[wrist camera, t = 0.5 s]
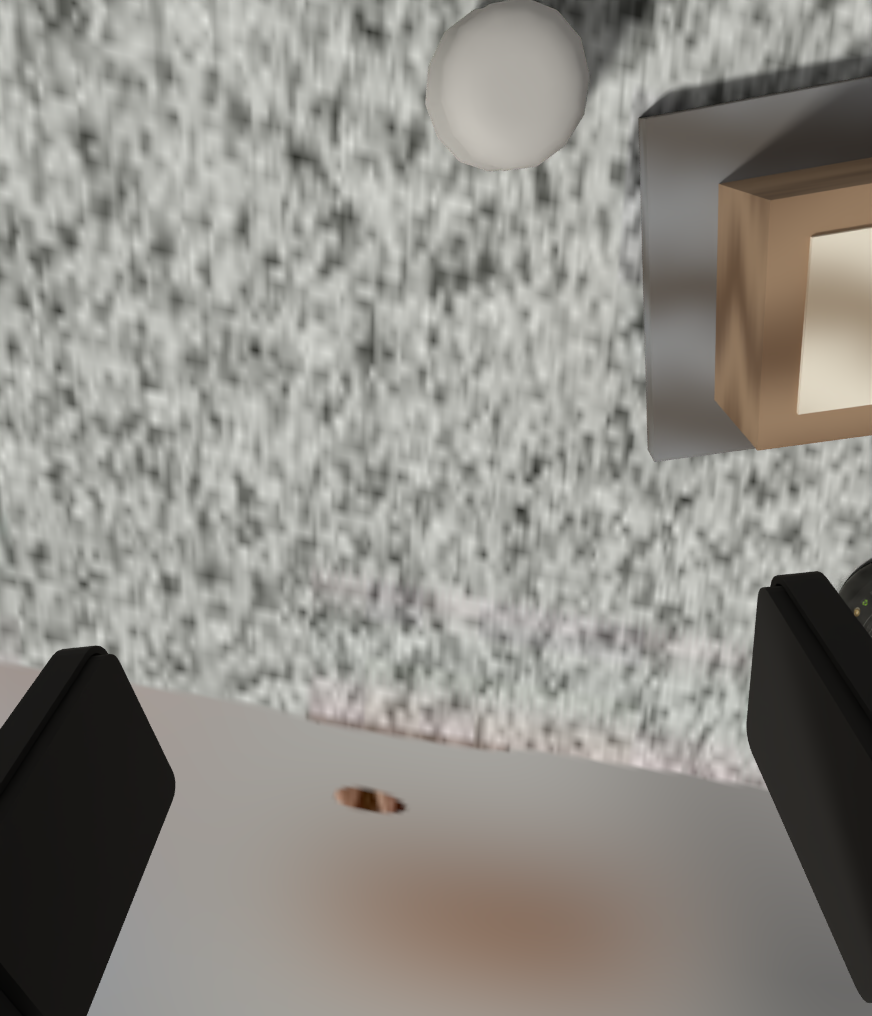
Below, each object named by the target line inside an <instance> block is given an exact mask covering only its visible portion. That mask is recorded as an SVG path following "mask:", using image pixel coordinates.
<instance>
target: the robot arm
mask: <svg viewBox="0 0 872 1016" xmlns="http://www.w3.org/2000/svg"><path fill="white" fill-rule="evenodd" d="M747 737H748V742H749V745H750V749H751V751H752V754H753V756H754V758H755V761H756V763H757V765H758V767H759V770H760V772H761V774H762V776H763V779H764V781H765V783H766V785H767V788H768V790H769V792H770V795H771V797H772V799H773V801H774V803H775V806H776V808H777V810H778V813H779V815H780V817H781V819H782V822H783V824H784V826H785V828H786V831H787V833H788V835H789V837H790V840H791V842H792V844H793V847H794V849H795V851H796V853H797V855H798V858H799V860H800V862H801V864H802V867H803V869H804V871H805V874H806V876H807V878H808V880H809V883H810V885H811V887H812V889H813V892H814V894H815V896H816V898H817V901H818V903H819V905H820V908H821V910H822V912H823V914H824V916H825V919H826V921H827V923H828V926H829V928H830V930H831V932H832V935H833V937H834V939H835V941H836V944H837V946H838V948H839V951H840V953H841V955H842V957H843V960H844V961H845V964H846V966H847V969H848V971H849V973H850V975H851V978H852V979H853V982H854V984H855V986H856V988H857V990H858V992H859V994H860V995H861V997H862V998H863V999H864V1000H865V1001H866V1002H867V1003H872V638H871V636H870V635H869V634H868V632H867V631H866V630H865V628H864V627H863V626H862V624H861V623H860V622H859V620H858V619H857V618H856V616H855V615H854V614H853V612H852V611H851V610H850V608H849V607H848V606H847V604H846V603H845V602H844V600H843V599H842V598H841V596H840V595H839V594H838V592H837V591H836V590H835V588H834V587H833V586H832V584H831V583H830V582H829V580H828V579H827V578H826V577H825V576H824V575H823V574H822V573H821V572H818V571H815V572H806V573H796V574H786V575H777V576H775V577H774V578H773V579H772V581H771V586H770V587H763V588H761V589H760V590H759V593H758V601H757V612H756V623H755V635H754V646H753V657H752V668H751V679H750V691H749V702H748V713H747ZM174 793H175V777H174V774H173V771H172V769H171V767H170V765H169V763H168V761H167V759H166V757H165V755H164V753H163V751H162V748H161V746H160V745H159V742H158V740H157V738H156V736H155V734H154V732H153V730H152V728H151V726H150V724H149V722H148V719H147V717H146V715H145V714H144V711H143V709H142V707H141V705H140V703H139V701H138V699H137V697H136V695H135V693H134V691H133V688H132V686H131V684H130V682H129V680H128V678H127V676H126V674H125V672H124V670H123V668H122V666H121V664H120V662H119V660H118V658H117V657H116V656H115V655H113V654H108V653H107V651H106V650H105V649H104V648H102V647H101V646H88V647H79V648H69V649H62V650H59V651H57V652H56V653H55V654H54V655H53V656H52V657H51V659H50V660H49V661H48V663H47V664H46V666H45V667H44V668H43V670H42V671H41V673H40V674H39V676H38V677H37V678H36V680H35V681H34V683H33V684H32V686H31V687H30V688H29V690H28V691H27V692H26V694H25V695H24V697H23V698H22V699H21V701H20V702H19V704H18V705H17V706H16V708H15V709H14V711H13V712H12V713H11V715H10V716H9V718H8V719H7V721H6V722H5V723H4V725H3V726H2V728H1V729H0V1016H87V1013H88V1011H89V1008H90V1006H91V1003H92V1001H93V998H94V996H95V993H96V991H97V988H98V986H99V983H100V981H101V978H102V976H103V973H104V971H105V968H106V965H107V963H108V961H109V958H110V956H111V953H112V951H113V948H114V946H115V943H116V941H117V938H118V936H119V933H120V931H121V928H122V925H123V923H124V921H125V918H126V916H127V913H128V911H129V908H130V905H131V903H132V901H133V898H134V896H135V893H136V891H137V888H138V885H139V883H140V881H141V878H142V876H143V873H144V871H145V868H146V866H147V863H148V861H149V858H150V855H151V853H152V850H153V848H154V846H155V843H156V841H157V838H158V835H159V833H160V830H161V828H162V826H163V823H164V821H165V818H166V815H167V813H168V811H169V808H170V806H171V803H172V800H173V797H174Z"/></svg>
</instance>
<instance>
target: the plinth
mask: <svg viewBox="0 0 872 1016" xmlns="http://www.w3.org/2000/svg"><path fill="white" fill-rule="evenodd" d="M639 153H640V189H641V224H642V259H643V294H644V329H645V364H646V399H647V435H648V451H649V453H650V455H651V456H652V458H653V460H654V462H657V461H665V460H672V459H680V458H687V457H694V456H702V455H709V454H717V453H724V452H732V451H739V450H746V449H754V448H756V449H757V450H765V449H772V448H780V447H787V446H794V445H802V444H809V443H817V442H824V441H832V440H839V439H847V438H854V437H861V436H869V435H872V75H871V76H866V77H860V78H855V79H849V80H844V81H838V82H833V83H828V84H822V85H817V86H811V87H806V88H801V89H795V90H790V91H784V92H779V93H773V94H768V95H763V96H757V97H752V98H746V99H741V100H736V101H730V102H725V103H719V104H714V105H709V106H703V107H698V108H692V109H687V110H681V111H676V112H671V113H665V114H660V115H654V116H649V117H644V118H639Z"/></svg>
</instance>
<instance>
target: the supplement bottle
mask: <svg viewBox="0 0 872 1016" xmlns="http://www.w3.org/2000/svg"><path fill="white" fill-rule="evenodd" d="M839 595H840V596H841V598H842V599H843V600H844V602H845V603H846V604H847V606H848V607H849V608H850V610H851V611H852V612H853V614H854V615H855V616H856V618H857V619H858V620H859V622H860V623H861V624H862V626H863V627H864V628H865V630H866V631H867V632H868V634H869V635H870V636H871V638H872V562H871V563H869V564H868V565H866V566H864V567H863V568H861V569H860V570H858V571H857V572H856V573H855V574H853V575H852V576H851V577H850V578H849V579H848V580H847V582H846V583H845V584H844V586H843V587H842V589H841V590H840V592H839Z"/></svg>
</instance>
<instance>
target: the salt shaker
mask: <svg viewBox="0 0 872 1016" xmlns="http://www.w3.org/2000/svg"><path fill="white" fill-rule="evenodd" d="M589 78H590V74H589V70H588V66H587V62H586V57H585V53H584V49H583V44H582V40H581V38H580V36H579V35H578V34H577V33H576V32H575V31H574V29H573V28H572V27H571V26H570V25H569V23H568V22H567V21H566V20H565V19H564V17H563V16H562V15H561V14H560V13H559V12H558V10H556V9H553V8H551V7H548V6H546V5H543V4H541V3H538V2H536V1H533V0H507V1H502V2H496V3H491V4H489V5H487V6H486V7H485V8H480V9H475V10H473V11H471V12H470V13H469V14H467V15H466V16H465V17H463V18H462V19H461V20H460V21H458V22H457V23H456V24H454V25H453V26H452V27H450V28H449V29H448V30H447V31H445V32H444V34H443V36H442V38H441V41H440V43H439V45H438V47H437V49H436V51H435V53H434V56H433V58H432V60H431V62H430V64H429V66H428V77H427V89H426V101H425V105H426V107H427V110H428V113H429V115H430V118H431V121H432V124H433V126H434V129H435V132H436V135H437V137H438V139H439V140H440V141H441V142H442V143H443V144H444V145H445V146H446V147H447V148H448V149H449V151H450V152H451V153H452V154H453V155H454V156H455V157H456V158H457V159H458V160H459V161H460V162H462V163H465V164H468V165H471V166H474V167H477V168H480V169H483V170H486V171H489V172H491V171H498V170H503V171H508V170H515V169H522V168H529V167H536V166H538V165H539V164H541V163H542V162H543V161H545V160H546V159H548V158H549V157H550V156H552V155H553V154H554V153H556V152H557V151H559V150H560V149H561V148H563V147H564V146H565V145H566V143H567V141H568V140H569V138H570V137H571V135H572V133H573V132H574V130H575V129H576V127H577V125H578V124H579V122H580V120H581V119H582V117H583V116H584V112H585V106H586V99H587V92H588V85H589Z"/></svg>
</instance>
